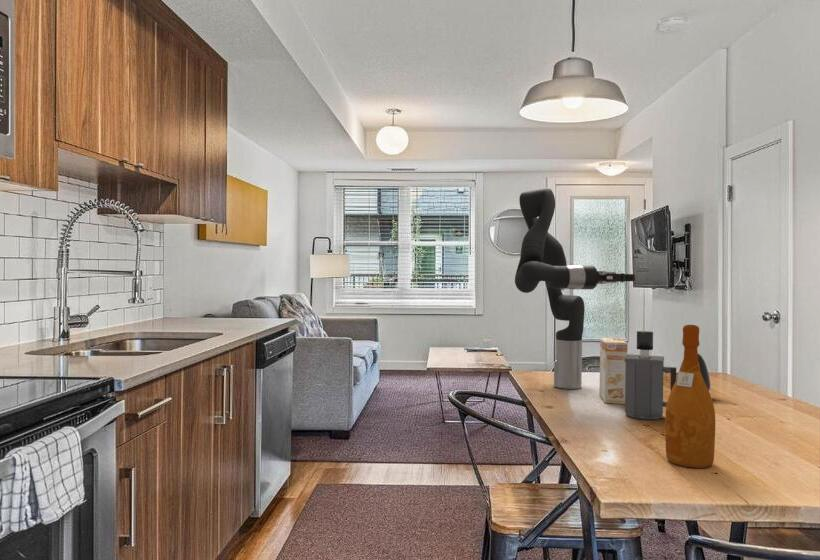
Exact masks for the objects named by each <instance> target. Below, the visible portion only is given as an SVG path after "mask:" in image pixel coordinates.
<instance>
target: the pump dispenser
mask: <svg viewBox="0 0 820 560" xmlns="http://www.w3.org/2000/svg"><path fill="white" fill-rule="evenodd" d="M698 362H699V365H700V372H701V374H702V377H703V379H704V381H705V384H706V386H707V388H708V390H709V391H710V390H711V379H710V374H709V371H708V367H707V364H706V362H705V359H704V357H703V356H702V355H701V354H700V353H698ZM682 363H683V360H682V361H681V364H680V367H679V371H678V374H679V372H680V370H681V365H682ZM678 374H677V375H678Z"/></svg>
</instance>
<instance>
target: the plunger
mask: <svg viewBox="0 0 820 560" xmlns="http://www.w3.org/2000/svg"><path fill="white" fill-rule="evenodd" d="M636 349H637V350H639V352H640V353H639V355H640V358H649V356H650V351H653V350H654V331H649V330H648V331H647V330H638V331H636Z"/></svg>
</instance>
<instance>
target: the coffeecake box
mask: <svg viewBox="0 0 820 560" xmlns="http://www.w3.org/2000/svg"><path fill="white" fill-rule="evenodd" d="M599 340H600V341H599V345H600V346H599V391H598V392H599V394H598V395H599V396H600V397H601V400H603V403H604V404H613V405H615V404H617V405H625V374H626V362H625V357H626V356H627V355H628V344H629V343H628V342H626V341H625V340H623V339H622V338H615V337H600V338H599Z"/></svg>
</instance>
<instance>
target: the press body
mask: <svg viewBox="0 0 820 560" xmlns="http://www.w3.org/2000/svg"><path fill="white" fill-rule="evenodd" d="M625 362H626V374H625V404H624V413H625V416H626V417H628V418H631V419H634V420H635V419H636V420H640V421H641V420H642V421H660V420H663V418H664V408H666V405H667V401H665V400H664V373H665V372H667V373H670V391H671V390H672V388H673V386H674V384H675V382H676V380H677V367H675V366H664V364H665V363H664V362H665V356H663V355H661V356H660V355H649V358H640V354H629V353H627V356H626V357H625Z"/></svg>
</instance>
